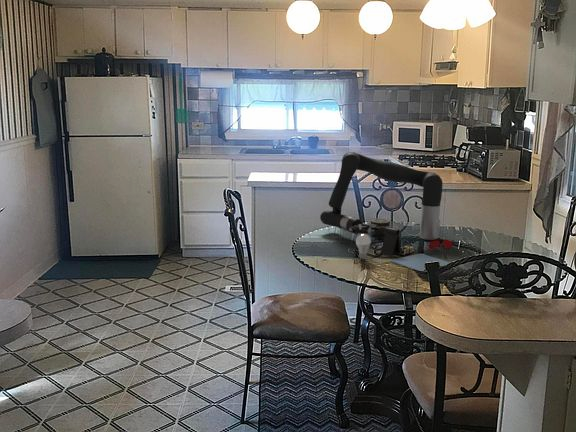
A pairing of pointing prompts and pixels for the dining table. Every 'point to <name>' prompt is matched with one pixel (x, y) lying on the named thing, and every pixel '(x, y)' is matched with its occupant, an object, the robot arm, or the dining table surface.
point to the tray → (417, 261)
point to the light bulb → (363, 245)
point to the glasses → (445, 243)
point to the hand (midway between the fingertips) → (373, 232)
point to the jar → (380, 226)
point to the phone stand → (391, 242)
